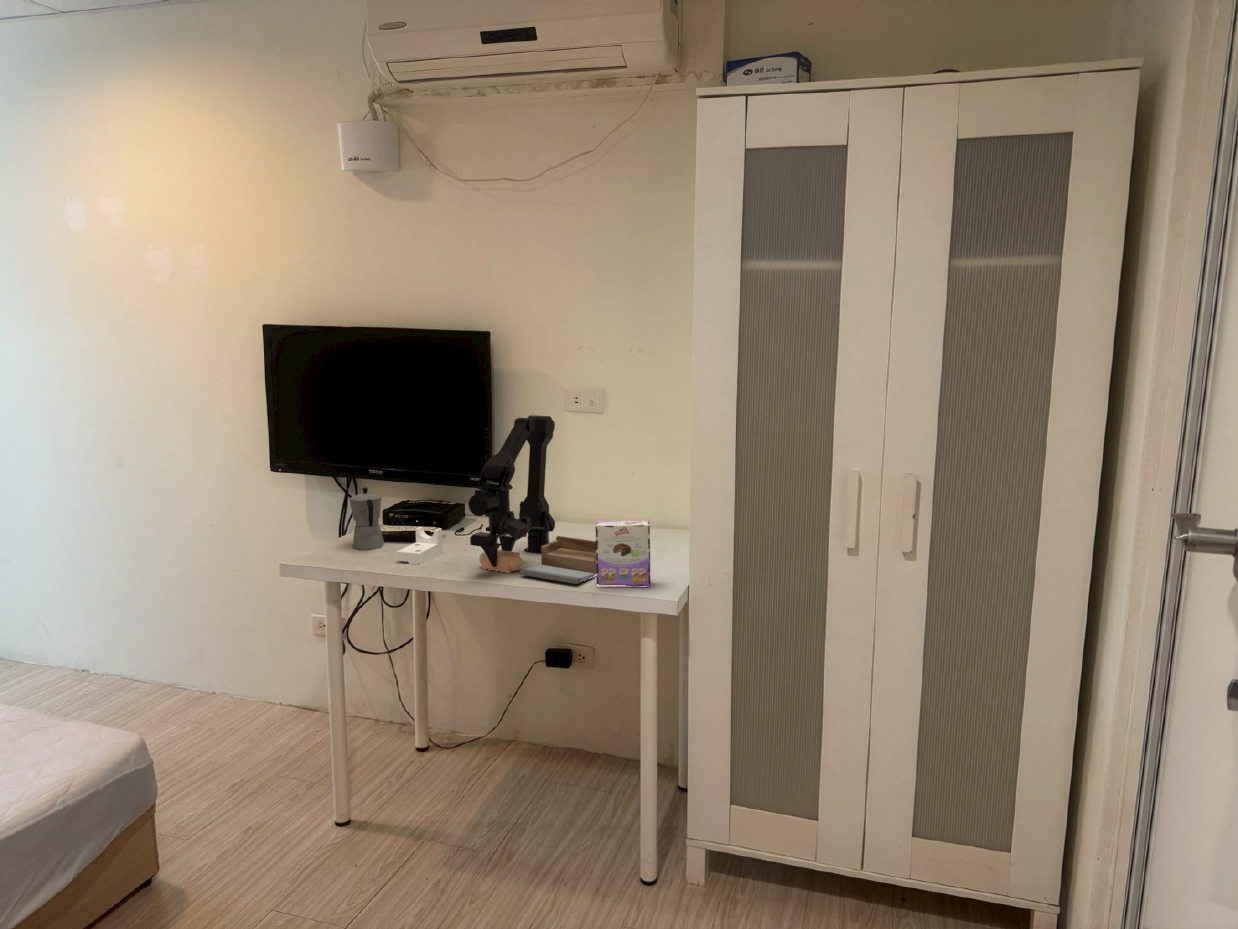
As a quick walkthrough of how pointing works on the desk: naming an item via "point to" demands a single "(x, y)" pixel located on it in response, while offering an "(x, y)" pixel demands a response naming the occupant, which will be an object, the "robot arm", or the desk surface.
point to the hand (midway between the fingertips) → (500, 564)
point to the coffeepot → (366, 521)
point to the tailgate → (557, 573)
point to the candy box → (623, 553)
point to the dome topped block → (502, 561)
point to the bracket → (422, 547)
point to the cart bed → (570, 554)
